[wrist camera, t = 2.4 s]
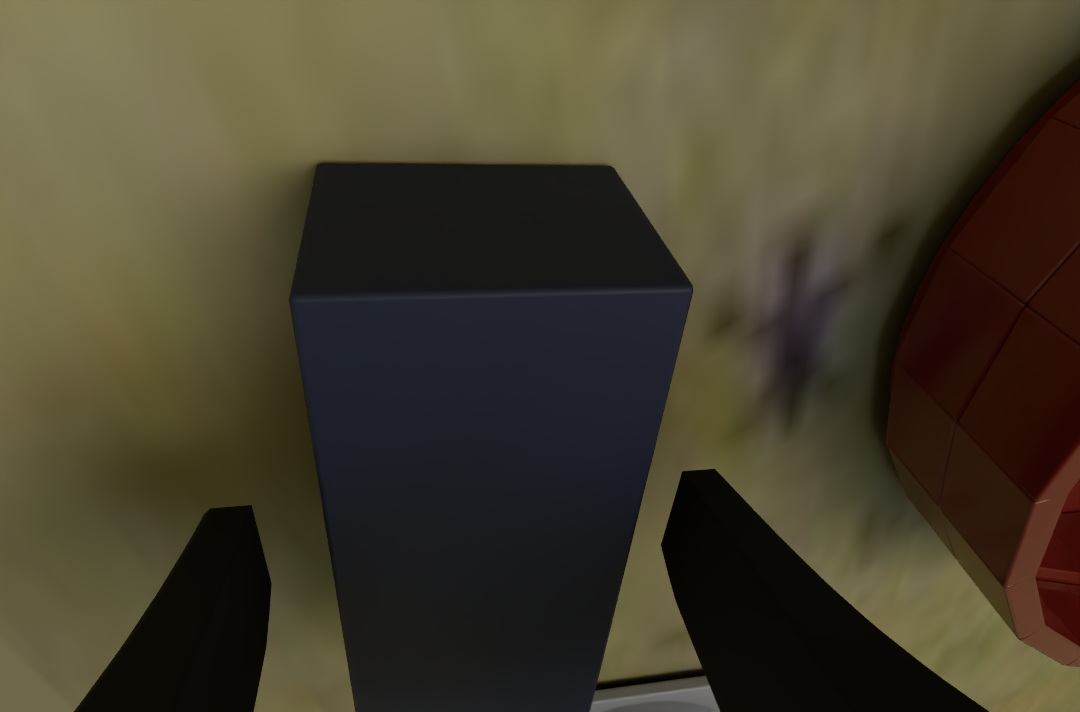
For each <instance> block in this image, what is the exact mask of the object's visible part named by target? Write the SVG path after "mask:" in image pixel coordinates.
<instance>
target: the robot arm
mask: <svg viewBox="0 0 1080 712" xmlns="http://www.w3.org/2000/svg"><path fill="white" fill-rule="evenodd" d="M661 547H662V551H663V555H664V559H665V563H666V567H667V571H668V575H669V578H670V582H671V586H672V589H673V593H674V596H675V600H676V602H677V605H678V608H679V610H680V613H681V615H682V618H683V620H684V623H685V626H686V628H687V631H688V633H689V636H690V638H691V641H692V643H693V646H694V648H695V651H696V653H697V656H698V658H699V661H700V663H701V666H702V668H703V670H704V673H705V676H698V677H690V678H683V679H676V680H668V681H661V682H654V683H646V684H639V685H632V686H624V687H617V688H610V689H602V690H595V693H594V697H593V701H592V705H591V710H590V712H989V711H987V710H986V709H984V708H983V707H982V706H980V705H979V704H977V703H976V702H975V701H973V700H972V699H970V698H969V697H967V696H966V695H965V694H963V693H962V692H960V691H959V690H957V689H956V688H955V687H953V686H952V685H950V684H949V683H948V682H946V681H945V680H943V679H942V678H941V677H939V676H938V675H937V674H935V673H934V672H933V671H931V670H930V669H929V668H927V667H926V666H925V665H923V664H922V663H921V662H919V661H918V660H917V659H916V658H914V657H913V656H912V655H911V654H909V653H908V652H907V651H906V650H904V649H903V648H902V647H901V646H899V645H898V644H897V643H896V642H894V641H893V640H892V639H890V638H889V637H888V636H887V635H885V634H884V633H883V632H882V631H881V630H879V629H878V628H877V627H876V626H875V625H873V624H872V623H871V622H870V621H869V620H867V619H866V618H865V617H864V616H863V615H862V614H861V613H859V612H858V611H857V610H856V609H855V608H854V607H853V606H852V605H851V604H849V603H848V602H847V601H846V600H845V599H844V598H843V597H842V596H840V595H839V594H838V593H837V592H836V591H835V590H834V589H833V588H832V587H831V586H830V585H828V584H827V583H826V582H825V581H824V580H823V579H822V578H821V577H820V576H819V575H818V574H817V573H816V572H815V571H814V570H813V569H812V568H811V567H810V566H809V565H808V564H807V563H806V562H805V561H804V560H803V559H802V558H801V557H799V556H798V555H797V554H796V553H795V552H794V551H793V550H792V549H791V548H790V547H789V546H788V545H787V544H786V543H785V542H784V541H783V540H782V539H781V538H780V537H779V536H778V535H777V534H776V533H775V531H774V530H773V529H772V528H771V527H770V526H769V525H768V524H767V523H766V522H765V521H764V520H763V519H762V518H761V517H760V516H759V515H758V514H757V513H756V512H755V511H754V510H753V509H752V508H751V506H750V505H749V504H748V503H747V502H746V501H745V500H744V499H743V498H742V497H741V496H740V495H739V494H738V493H737V492H736V491H735V490H734V489H733V488H732V486H731V485H730V484H729V483H728V482H727V481H726V480H725V479H724V478H723V477H722V476H721V475H720V474H719V473H718V472H717V471H716V470H715V469H708V470H695V471H682V475H681V478H680V481H679V485H678V488H677V492H676V495H675V499H674V502H673V506H672V509H671V512H670V516H669V519H668V523H667V526H666V530H665V533H664V537H663V540H662V543H661ZM270 597H271V580H270V576H269V572H268V568H267V564H266V560H265V556H264V552H263V548H262V544H261V540H260V536H259V532H258V528H257V525H256V521H255V517H254V513H253V509H252V505H248V506H236V507H223V508H210V509H209V510H208V511H207V512H206V513H205V514H204V515H203V517H202V519H201V521H200V523H199V524H198V526H197V528H196V530H195V532H194V533H193V535H192V537H191V539H190V540H189V542H188V544H187V545H186V547H185V549H184V551H183V552H182V554H181V556H180V557H179V559H178V561H177V562H176V564H175V566H174V567H173V569H172V571H171V572H170V574H169V575H168V577H167V579H166V580H165V582H164V583H163V585H162V587H161V588H160V590H159V591H158V593H157V595H156V596H155V598H154V599H153V601H152V602H151V604H150V605H149V607H148V608H147V610H146V611H145V613H144V614H143V616H142V617H141V619H140V620H139V622H138V623H137V625H136V626H135V628H134V629H133V631H132V632H131V634H130V635H129V637H128V638H127V640H126V641H125V643H124V644H123V645H122V647H121V648H120V650H119V651H118V653H117V654H116V655H115V657H114V658H113V659H112V661H111V662H110V664H109V665H108V666H107V668H106V669H105V670H104V672H103V673H102V675H101V676H100V677H99V679H98V680H97V681H96V683H95V684H94V685H93V687H92V688H91V690H90V691H89V692H88V694H87V695H86V696H85V698H84V699H83V701H82V702H81V703H80V705H79V706H78V707H77V708H76V710H75V711H74V712H254V707H255V702H256V697H257V692H258V687H259V682H260V676H261V671H262V666H263V661H264V656H265V651H266V643H267V633H268V622H269V610H270Z"/></svg>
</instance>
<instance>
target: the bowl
mask: <svg viewBox="0 0 1080 712" xmlns="http://www.w3.org/2000/svg"><path fill="white" fill-rule="evenodd" d="M889 404H890V407H889V415H888V423H887V431H886V441H887V442H886V443H887V447H888V449H889V452H890V454H891V457H892V459H893V462H894V464H895V467H896V469H897V472H898V474H899V477H900V479H901V482H902V485H903V487H904V490H905V492H906V495H907V497H908V498H909V500H910V501H911V502H912V503H913V505H914V506H915V507H916V509H917V510H918V511H919V512H920V514H921V515H922V516H923V517H924V519H925V520H926V521H927V523H928V524H929V525H930V526H931V528H932V529H933V530H934V532H935V533H936V534H937V535H938V537H939V538H940V539H941V541H942V542H943V543H944V544H945V546H946V547H947V548H948V550H949V551H950V552H951V553H952V555H953V556H954V557H955V558H956V559H957V560H958V563H959V564H960V565H961V566H962V568H963V569H964V570H965V572H966V573H967V574H968V575H969V577H970V578H971V579H972V581H973V582H974V583H975V584H976V586H977V587H978V588H979V589H980V591H981V592H982V593H983V595H984V596H985V597H986V598H987V600H988V601H989V602H990V604H991V605H992V606H993V607H994V609H995V610H996V611H997V613H998V614H999V615H1000V616H1001V618H1002V619H1003V620H1004V622H1005V623H1006V624H1007V625H1008V627H1009V628H1010V629H1011V631H1012V632H1013V633H1014V634H1015V636H1016V637H1017V638H1018V639H1019V640H1021V641H1022V642H1024V643H1026V644H1028V645H1029V646H1031V647H1033V648H1035V649H1036V650H1038V651H1040V652H1042V653H1043V654H1045V655H1047V656H1048V657H1050V658H1052V659H1054V660H1055V661H1057V662H1059V663H1061V664H1062V665H1066V666H1075V667H1080V79H1079V80H1078V81H1077V82H1076V83H1075V84H1074V85H1073V86H1071V87H1070V88H1069V89H1068V90H1067V91H1066V92H1065V93H1064V94H1063V95H1062V96H1061V97H1060V98H1059V99H1058V100H1057V101H1056V102H1055V103H1054V104H1053V105H1052V106H1051V107H1050V108H1049V109H1048V110H1047V111H1046V113H1045V114H1044V115H1043V116H1042V117H1041V118H1040V119H1039V120H1038V121H1037V122H1036V123H1035V124H1034V125H1033V126H1032V128H1031V129H1030V130H1029V131H1028V132H1027V133H1026V134H1025V135H1024V136H1023V137H1022V138H1021V139H1020V140H1019V142H1018V143H1017V144H1016V145H1015V146H1014V147H1013V148H1012V149H1011V150H1010V152H1009V153H1008V154H1007V155H1006V157H1005V158H1004V159H1003V160H1002V162H1001V163H1000V164H999V165H998V167H997V168H996V169H995V171H994V172H993V173H992V174H991V176H990V177H989V178H988V179H987V181H986V182H985V183H984V184H983V186H982V187H981V188H980V189H979V191H978V192H977V193H976V194H975V196H974V197H973V198H972V200H971V201H970V203H969V204H968V206H967V207H966V209H965V210H964V212H963V213H962V215H961V216H960V218H959V219H958V221H957V222H956V224H955V225H954V227H953V228H952V230H951V231H950V233H949V234H948V236H947V237H946V239H945V240H944V242H943V243H942V245H941V247H940V249H939V251H938V252H937V254H936V256H935V258H934V260H933V262H932V264H931V265H930V267H929V269H928V271H927V273H926V275H925V277H924V279H923V280H922V282H921V284H920V286H919V288H918V290H917V293H916V295H915V297H914V300H913V302H912V305H911V307H910V310H909V312H908V315H907V317H906V320H905V322H904V325H903V327H902V330H901V334H900V338H899V341H898V345H897V349H896V353H895V357H894V361H893V364H892V373H891V382H890V392H889Z"/></svg>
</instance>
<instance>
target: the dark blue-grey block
mask: <svg viewBox="0 0 1080 712" xmlns="http://www.w3.org/2000/svg"><path fill="white" fill-rule="evenodd" d="M692 294H693V286H692V284H691V282H690V281H689V279H688V278H687V276H686V275H685V273H684V272H683V270H682V269H681V267H680V266H679V264H678V263H677V261H676V260H675V259H674V257H673V256H672V254H671V253H670V251H669V250H668V248H667V247H666V245H665V244H664V242H663V241H662V239H661V238H660V236H659V235H658V233H657V232H656V230H655V229H654V227H653V226H652V224H651V223H650V221H649V220H648V218H647V217H646V215H645V214H644V212H643V211H642V209H641V208H640V206H639V205H638V203H637V202H636V200H635V199H634V197H633V196H632V194H631V193H630V191H629V190H628V188H627V187H626V185H625V184H624V182H623V181H622V179H621V178H620V177H619V175H618V174H617V172H616V171H615V169H614V168H613V167H611V166H536V165H436V164H335V163H321V164H318V165H317V168H316V172H315V177H314V181H313V186H312V191H311V196H310V201H309V205H308V210H307V215H306V220H305V225H304V229H303V234H302V239H301V244H300V249H299V253H298V258H297V263H296V268H295V273H294V277H293V282H292V287H291V292H290V297H289V303H290V309H291V315H292V322H293V328H294V334H295V340H296V346H297V353H298V359H299V365H300V371H301V377H302V384H303V390H304V396H305V402H306V408H307V415H308V421H309V427H310V433H311V439H312V445H313V452H314V458H315V464H316V470H317V476H318V483H319V489H320V495H321V501H322V507H323V514H324V520H325V526H326V532H327V538H328V545H329V551H330V557H331V563H332V569H333V576H334V582H335V588H336V594H337V600H338V607H339V613H340V619H341V625H342V631H343V637H344V644H345V650H346V656H347V662H348V668H349V675H350V681H351V687H352V693H353V699H354V706H355V712H590V710H591V705H592V701H593V697H594V693H595V689H596V685H597V681H598V677H599V673H600V669H601V665H602V661H603V657H604V652H605V648H606V644H607V640H608V636H609V632H610V628H611V624H612V620H613V616H614V612H615V608H616V604H617V599H618V595H619V591H620V587H621V583H622V579H623V575H624V571H625V567H626V563H627V559H628V555H629V551H630V546H631V542H632V538H633V534H634V530H635V526H636V522H637V518H638V514H639V510H640V506H641V502H642V498H643V493H644V489H645V485H646V481H647V477H648V473H649V469H650V465H651V461H652V457H653V453H654V449H655V445H656V440H657V436H658V432H659V428H660V424H661V420H662V416H663V412H664V408H665V404H666V400H667V396H668V392H669V388H670V383H671V379H672V375H673V371H674V367H675V363H676V359H677V355H678V351H679V347H680V343H681V339H682V335H683V330H684V326H685V322H686V318H687V314H688V310H689V306H690V302H691V298H692Z"/></svg>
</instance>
